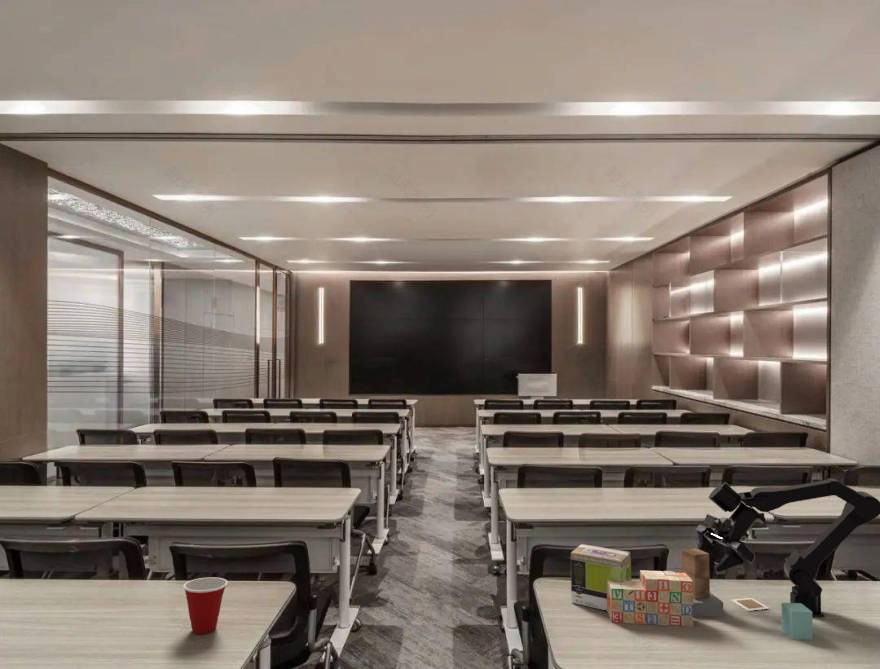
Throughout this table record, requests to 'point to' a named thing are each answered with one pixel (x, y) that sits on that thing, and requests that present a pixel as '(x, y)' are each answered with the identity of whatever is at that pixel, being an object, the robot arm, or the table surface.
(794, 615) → the teal block
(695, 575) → the walnut block
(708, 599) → the base block
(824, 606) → the table surface
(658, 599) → the stack of blocks
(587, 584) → the tea box
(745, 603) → the card
